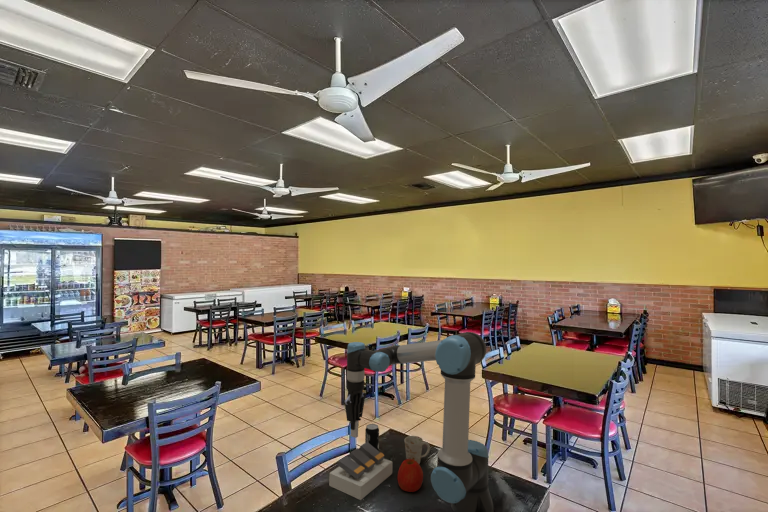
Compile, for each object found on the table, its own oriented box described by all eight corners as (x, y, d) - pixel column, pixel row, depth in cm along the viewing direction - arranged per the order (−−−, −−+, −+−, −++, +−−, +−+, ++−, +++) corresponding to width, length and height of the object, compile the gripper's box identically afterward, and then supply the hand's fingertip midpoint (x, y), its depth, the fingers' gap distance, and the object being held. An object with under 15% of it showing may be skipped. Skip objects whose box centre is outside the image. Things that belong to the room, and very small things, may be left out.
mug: (401, 459, 166) (401, 437, 166) (424, 454, 171) (424, 432, 171) (409, 468, 158) (410, 445, 159) (434, 462, 164) (434, 440, 164)
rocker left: (364, 473, 144) (365, 468, 143) (356, 479, 140) (357, 473, 140) (345, 460, 149) (346, 455, 149) (337, 465, 145) (338, 460, 145)
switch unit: (392, 473, 154) (392, 457, 155) (360, 500, 136) (360, 482, 137) (362, 462, 163) (362, 447, 164) (329, 485, 145) (329, 468, 146)
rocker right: (383, 459, 155) (384, 455, 155) (377, 464, 152) (378, 459, 151) (365, 445, 161) (367, 441, 160) (359, 449, 157) (360, 445, 157)
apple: (424, 482, 149) (424, 455, 149) (420, 497, 139) (420, 469, 139) (400, 477, 151) (400, 452, 152) (394, 492, 141) (394, 464, 142)
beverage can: (377, 456, 169) (377, 429, 169) (363, 454, 170) (363, 428, 171) (380, 449, 175) (380, 424, 176) (367, 447, 177) (367, 422, 177)
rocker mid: (373, 467, 150) (375, 462, 149) (367, 472, 146) (368, 467, 145) (355, 452, 155) (357, 447, 155) (349, 456, 151) (350, 451, 151)
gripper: (357, 374, 161) (356, 428, 160) (338, 381, 150) (337, 439, 149) (371, 377, 156) (370, 433, 156) (352, 385, 146) (351, 445, 145)
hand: (354, 436), depth 152 cm, fingers closed
